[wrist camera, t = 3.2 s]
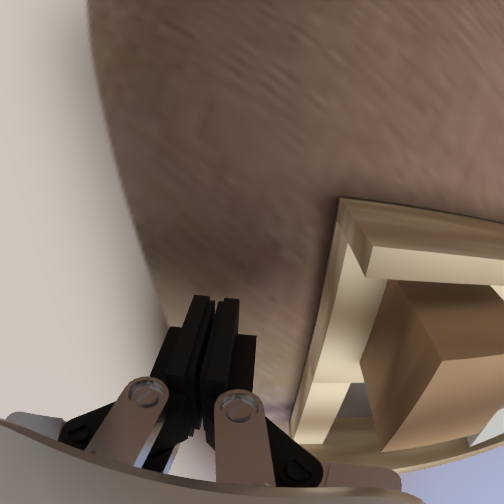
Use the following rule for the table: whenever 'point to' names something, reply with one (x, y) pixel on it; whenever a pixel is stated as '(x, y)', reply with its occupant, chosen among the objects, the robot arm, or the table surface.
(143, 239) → the table surface
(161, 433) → the robot arm
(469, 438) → the trapped grey block
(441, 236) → the tray
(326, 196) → the table surface
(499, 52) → the table surface
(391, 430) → the walnut block
